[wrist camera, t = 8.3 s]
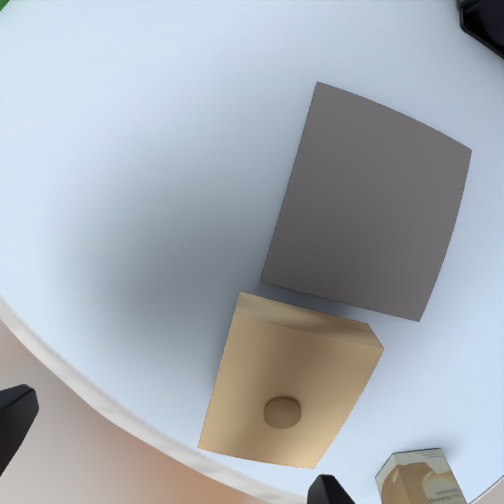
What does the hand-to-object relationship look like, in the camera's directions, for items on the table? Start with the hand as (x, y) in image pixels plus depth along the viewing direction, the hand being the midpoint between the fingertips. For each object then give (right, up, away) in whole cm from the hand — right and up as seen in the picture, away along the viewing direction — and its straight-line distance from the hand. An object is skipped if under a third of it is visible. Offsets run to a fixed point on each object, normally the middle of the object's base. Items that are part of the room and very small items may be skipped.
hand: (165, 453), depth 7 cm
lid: (+4, -1, +9) cm, 10 cm away
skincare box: (+18, -15, +15) cm, 28 cm away
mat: (+10, +8, +10) cm, 16 cm away
